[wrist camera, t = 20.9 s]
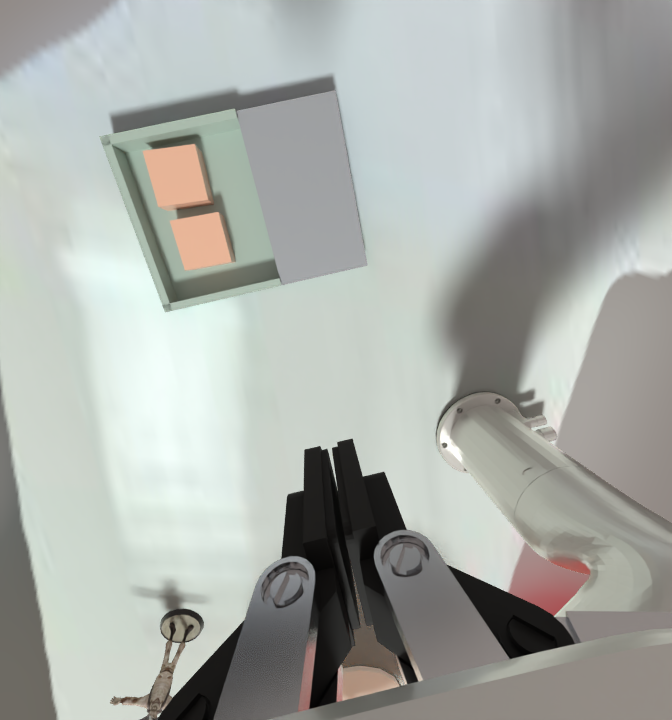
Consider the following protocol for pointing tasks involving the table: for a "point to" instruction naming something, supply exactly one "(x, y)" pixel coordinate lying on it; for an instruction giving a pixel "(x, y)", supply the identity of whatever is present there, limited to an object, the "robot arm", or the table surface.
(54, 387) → the table surface
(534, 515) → the robot arm
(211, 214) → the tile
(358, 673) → the round pedestal stand
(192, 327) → the table surface
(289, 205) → the deck
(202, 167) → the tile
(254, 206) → the tray
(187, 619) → the figurine
